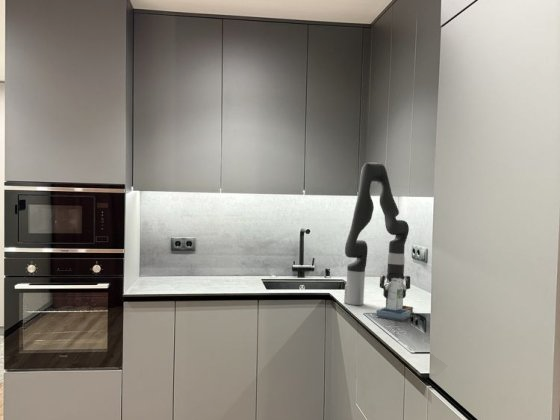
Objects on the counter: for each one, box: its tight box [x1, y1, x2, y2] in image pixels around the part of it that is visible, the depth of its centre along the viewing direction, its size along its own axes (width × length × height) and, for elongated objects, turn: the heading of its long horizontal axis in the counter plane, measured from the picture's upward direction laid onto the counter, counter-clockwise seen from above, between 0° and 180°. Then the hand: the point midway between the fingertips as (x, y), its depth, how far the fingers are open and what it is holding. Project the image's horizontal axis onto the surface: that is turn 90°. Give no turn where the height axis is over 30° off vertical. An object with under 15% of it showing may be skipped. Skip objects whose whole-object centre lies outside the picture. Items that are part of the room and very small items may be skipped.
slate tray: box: [375, 306, 412, 322], centre depth 214 cm, size 12×12×3 cm
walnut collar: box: [403, 305, 414, 314], centre depth 226 cm, size 10×10×2 cm
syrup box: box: [385, 278, 405, 310], centre depth 214 cm, size 6×6×14 cm
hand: (394, 297), depth 214 cm, fingers closed on syrup box, 8 cm apart
